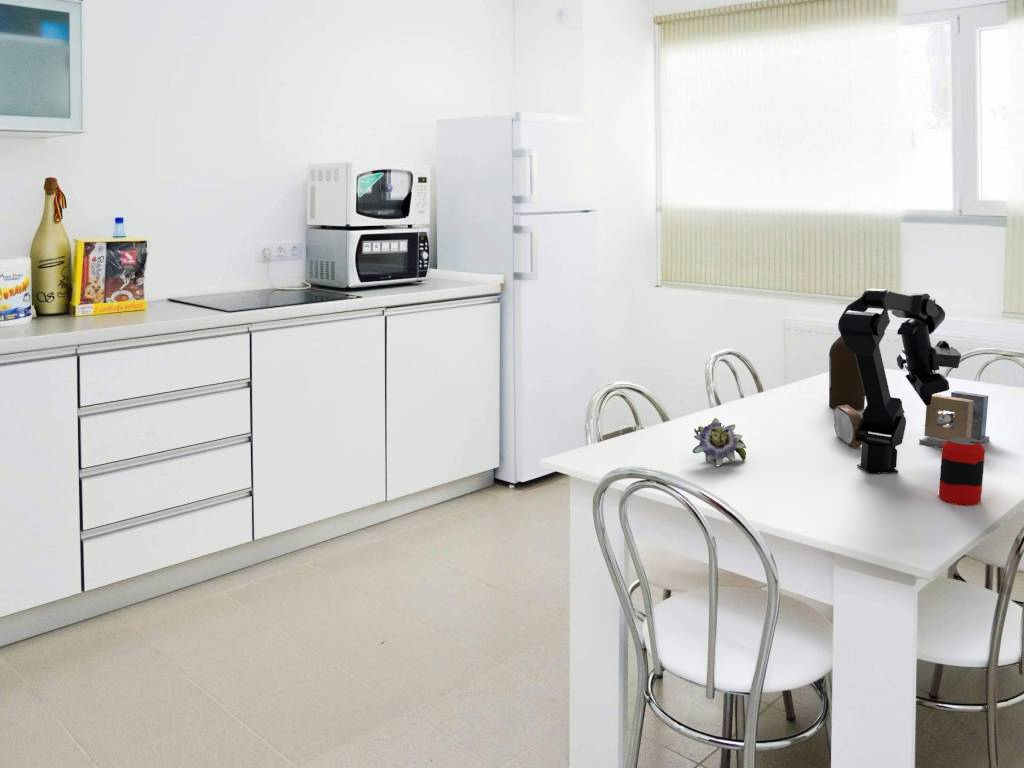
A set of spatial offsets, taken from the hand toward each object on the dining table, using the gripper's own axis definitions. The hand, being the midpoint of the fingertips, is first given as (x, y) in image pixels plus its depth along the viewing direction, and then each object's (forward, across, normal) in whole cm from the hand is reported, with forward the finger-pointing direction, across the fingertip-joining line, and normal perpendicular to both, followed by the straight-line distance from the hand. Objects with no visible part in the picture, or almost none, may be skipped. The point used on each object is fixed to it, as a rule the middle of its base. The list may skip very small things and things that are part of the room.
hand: (927, 404), depth 220 cm
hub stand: (+15, +6, -6) cm, 17 cm away
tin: (+8, +6, +19) cm, 21 cm away
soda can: (+2, -38, +6) cm, 38 cm away
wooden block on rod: (+12, +3, -4) cm, 13 cm away
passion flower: (-5, -12, +49) cm, 51 cm away
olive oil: (+19, +43, +12) cm, 48 cm away
